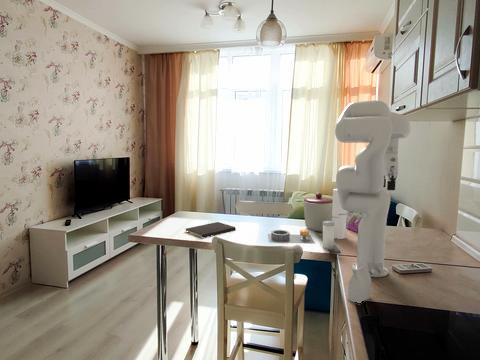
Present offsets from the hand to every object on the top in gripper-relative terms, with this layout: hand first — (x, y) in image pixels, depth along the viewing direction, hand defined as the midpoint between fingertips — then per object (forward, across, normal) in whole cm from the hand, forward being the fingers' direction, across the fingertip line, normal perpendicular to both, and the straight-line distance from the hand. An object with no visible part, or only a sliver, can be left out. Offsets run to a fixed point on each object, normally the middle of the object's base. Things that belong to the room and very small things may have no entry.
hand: (386, 188), depth 137 cm
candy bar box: (+29, +32, +2) cm, 43 cm away
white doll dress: (+28, -47, +26) cm, 61 cm away
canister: (+29, +33, +23) cm, 49 cm away
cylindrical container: (+28, +19, +15) cm, 37 cm away
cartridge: (+28, -1, +25) cm, 37 cm away
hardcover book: (+29, +25, +83) cm, 92 cm away
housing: (+28, +11, +41) cm, 51 cm away
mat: (+28, -1, +25) cm, 38 cm away
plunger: (+28, +11, +34) cm, 45 cm away
